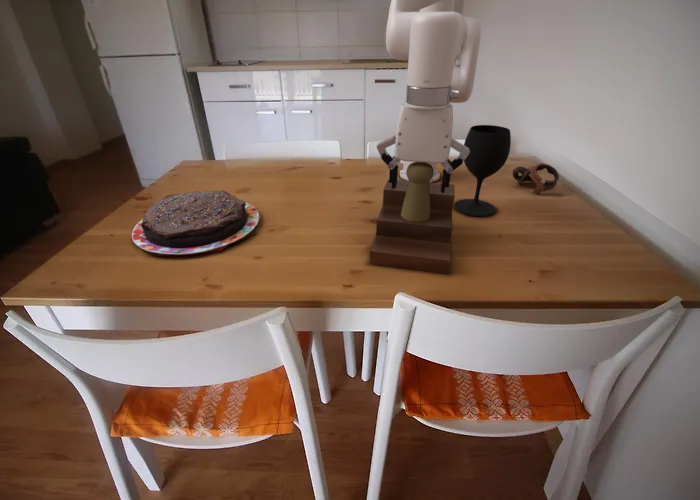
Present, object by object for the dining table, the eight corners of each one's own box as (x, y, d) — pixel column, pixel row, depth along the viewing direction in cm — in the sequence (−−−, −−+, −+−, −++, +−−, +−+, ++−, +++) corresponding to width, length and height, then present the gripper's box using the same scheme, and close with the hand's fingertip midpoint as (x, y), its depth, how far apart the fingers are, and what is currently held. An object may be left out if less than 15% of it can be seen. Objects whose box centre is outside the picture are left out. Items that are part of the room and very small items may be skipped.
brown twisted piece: (544, 183, 108) (562, 165, 101) (543, 207, 103) (562, 189, 96) (506, 171, 108) (521, 152, 101) (504, 194, 104) (519, 176, 97)
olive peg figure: (428, 209, 76) (435, 159, 70) (431, 222, 71) (438, 169, 65) (400, 208, 77) (404, 158, 71) (401, 221, 72) (405, 168, 66)
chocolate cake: (256, 252, 74) (252, 224, 70) (112, 265, 70) (99, 236, 67) (262, 199, 97) (259, 176, 94) (154, 207, 94) (147, 183, 90)
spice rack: (447, 273, 67) (455, 226, 62) (369, 263, 70) (371, 218, 65) (448, 224, 85) (454, 184, 79) (385, 217, 88) (387, 179, 82)
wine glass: (502, 207, 92) (521, 128, 82) (484, 221, 86) (502, 137, 75) (465, 197, 98) (479, 122, 88) (446, 208, 92) (458, 129, 81)
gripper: (477, 94, 63) (462, 184, 73) (382, 91, 67) (378, 178, 76) (480, 102, 57) (463, 199, 66) (375, 98, 61) (372, 191, 70)
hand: (418, 188), depth 71 cm, fingers open, 9 cm apart
